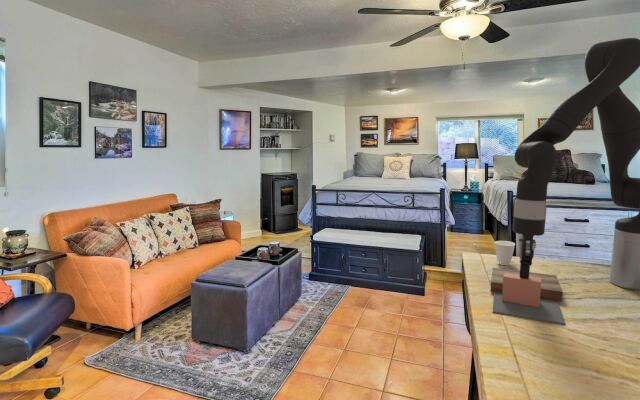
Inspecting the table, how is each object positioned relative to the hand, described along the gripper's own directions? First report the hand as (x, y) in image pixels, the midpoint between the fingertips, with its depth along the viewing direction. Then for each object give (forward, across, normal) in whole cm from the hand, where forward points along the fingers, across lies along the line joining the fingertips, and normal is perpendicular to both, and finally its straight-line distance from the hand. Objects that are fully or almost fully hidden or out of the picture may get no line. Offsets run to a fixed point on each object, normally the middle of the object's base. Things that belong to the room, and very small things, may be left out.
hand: (524, 277), depth 98 cm
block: (+4, +2, 0) cm, 4 cm away
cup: (+7, +36, +4) cm, 37 cm away
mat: (+8, -3, -1) cm, 8 cm away
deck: (+7, +12, -1) cm, 14 cm away
